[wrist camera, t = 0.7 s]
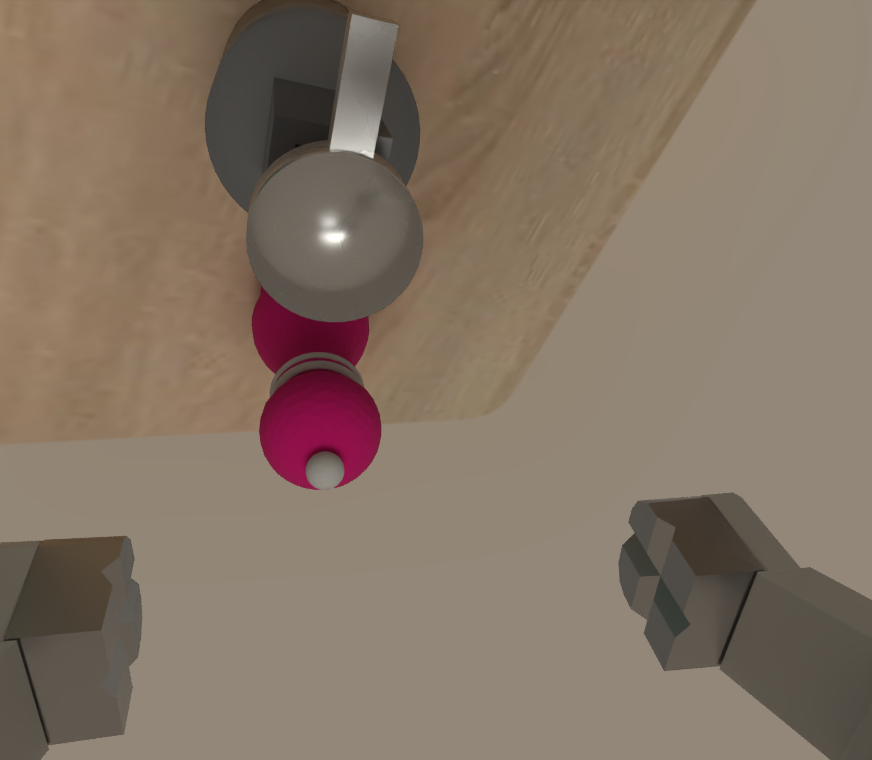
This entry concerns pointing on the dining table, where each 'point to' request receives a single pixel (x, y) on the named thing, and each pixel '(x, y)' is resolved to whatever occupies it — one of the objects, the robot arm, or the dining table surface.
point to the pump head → (339, 200)
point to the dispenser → (291, 93)
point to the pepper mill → (315, 397)
